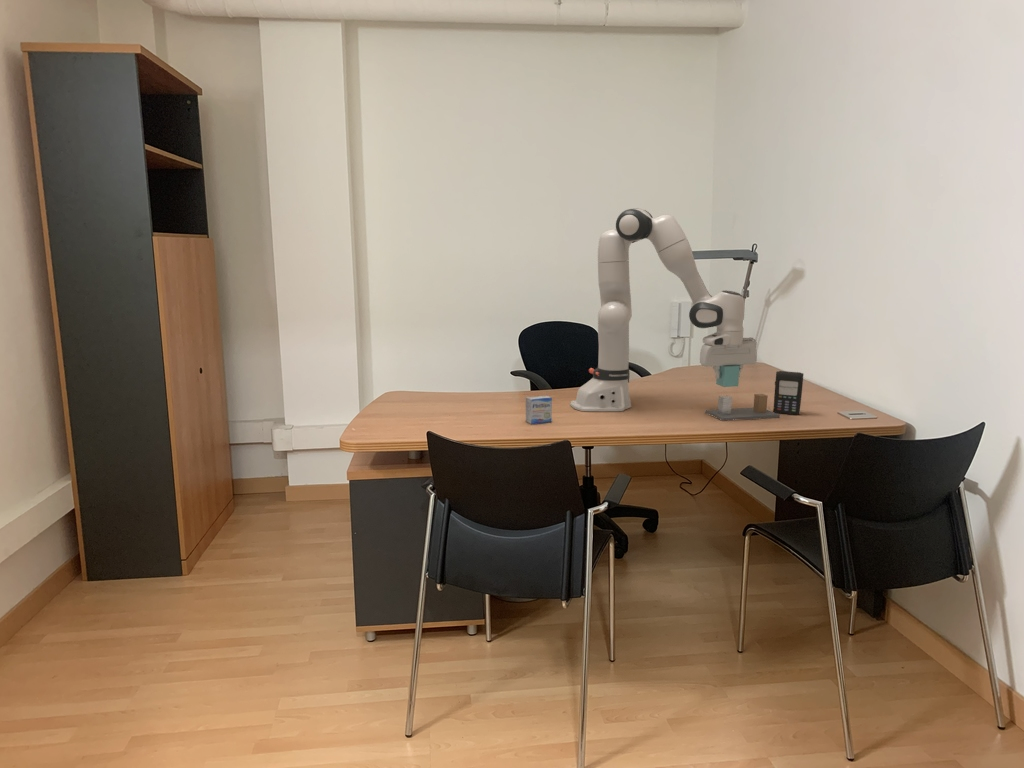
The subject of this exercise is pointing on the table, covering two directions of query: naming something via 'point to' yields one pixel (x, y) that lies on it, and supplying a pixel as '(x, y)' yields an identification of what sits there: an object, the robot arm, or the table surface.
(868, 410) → the table surface
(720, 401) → the metal post
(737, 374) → the teal block
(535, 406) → the medicine box
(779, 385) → the card reader
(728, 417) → the post board
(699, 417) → the table surface
